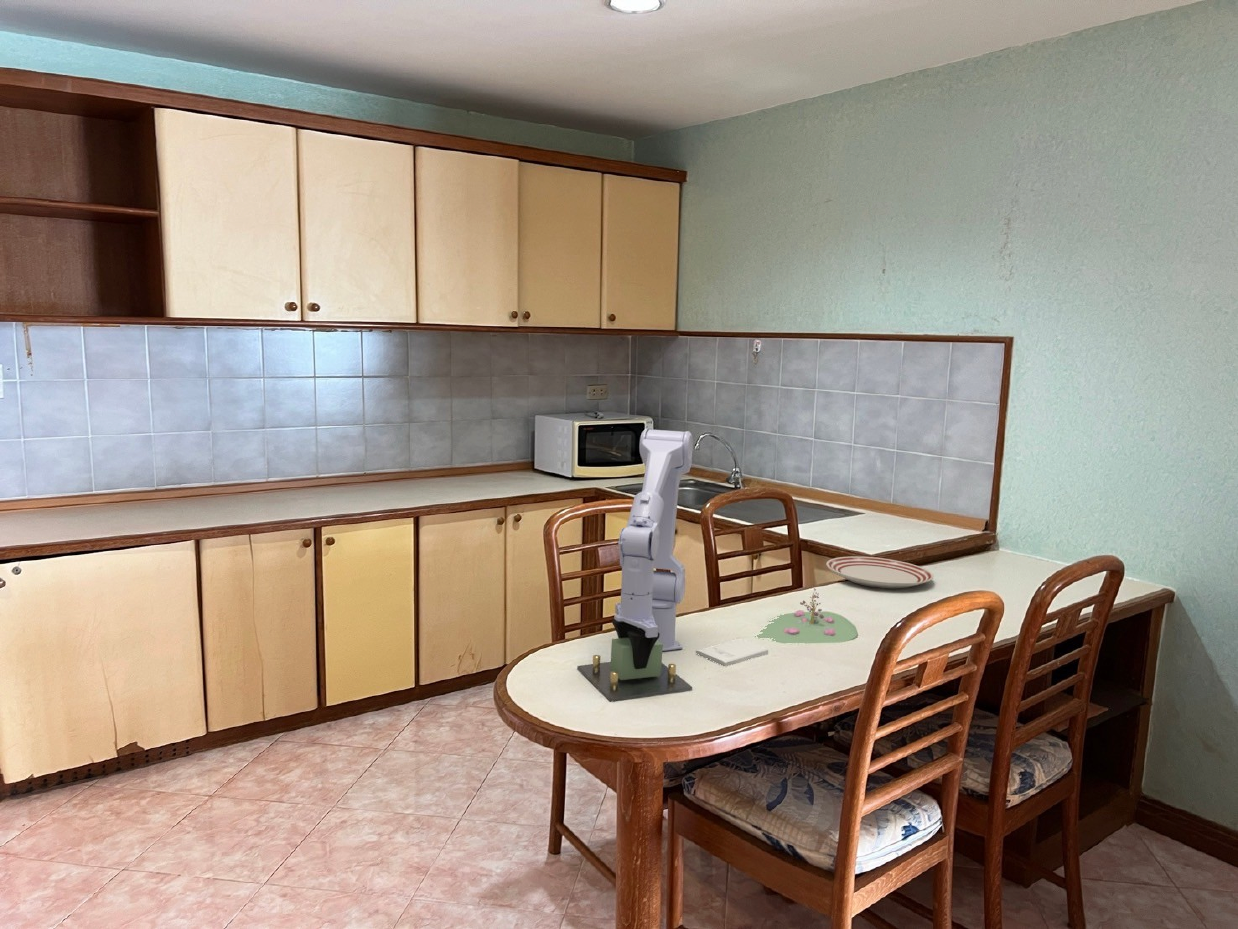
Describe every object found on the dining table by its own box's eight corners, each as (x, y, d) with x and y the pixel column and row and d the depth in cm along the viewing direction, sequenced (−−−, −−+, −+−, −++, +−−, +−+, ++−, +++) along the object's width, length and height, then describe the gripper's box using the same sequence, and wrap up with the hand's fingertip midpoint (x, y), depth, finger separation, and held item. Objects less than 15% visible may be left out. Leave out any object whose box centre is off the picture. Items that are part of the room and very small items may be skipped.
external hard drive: (768, 656, 185) (724, 669, 177) (738, 644, 191) (695, 656, 183) (768, 648, 184) (725, 661, 177) (738, 637, 191) (695, 649, 183)
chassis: (577, 668, 173) (577, 650, 172) (653, 659, 179) (654, 641, 179) (610, 701, 158) (610, 682, 158) (692, 690, 165) (693, 671, 164)
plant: (806, 658, 184) (809, 615, 183) (729, 630, 200) (731, 590, 198) (876, 633, 201) (879, 593, 199) (800, 609, 216) (802, 572, 215)
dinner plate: (868, 561, 262) (869, 550, 262) (953, 584, 241) (955, 572, 241) (804, 574, 246) (804, 562, 245) (889, 601, 224) (891, 588, 224)
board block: (610, 670, 169) (611, 639, 168) (649, 666, 173) (651, 635, 172) (620, 680, 165) (622, 648, 164) (660, 675, 168) (662, 644, 167)
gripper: (601, 582, 171) (598, 651, 173) (633, 604, 158) (630, 679, 160) (635, 579, 174) (632, 647, 176) (669, 601, 161) (666, 674, 163)
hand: (634, 662), depth 168 cm, fingers closed on board block, 5 cm apart
